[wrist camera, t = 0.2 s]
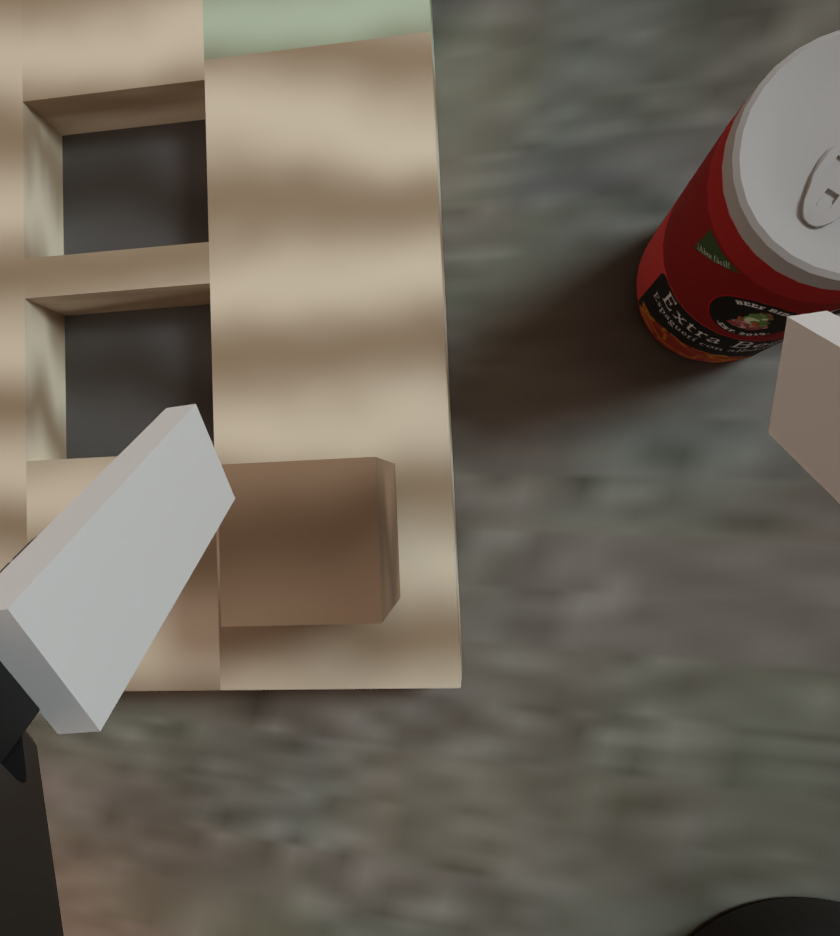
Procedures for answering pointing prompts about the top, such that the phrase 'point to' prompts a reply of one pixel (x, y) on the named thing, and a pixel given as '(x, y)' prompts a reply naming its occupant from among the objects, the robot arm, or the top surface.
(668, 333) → the canned food
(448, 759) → the top surface
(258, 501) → the walnut block
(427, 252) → the trap deck
